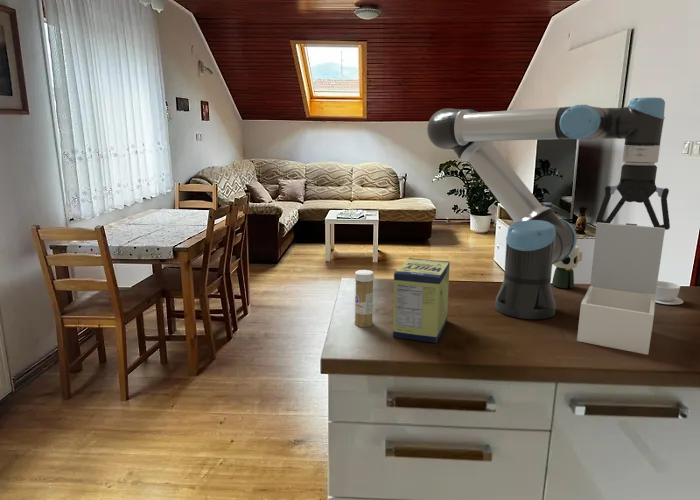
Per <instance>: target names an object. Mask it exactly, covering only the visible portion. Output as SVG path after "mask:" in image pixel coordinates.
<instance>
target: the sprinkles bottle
mask: <svg viewBox="0 0 700 500" xmlns="http://www.w3.org/2000/svg"><path fill="white" fill-rule="evenodd" d="M374 279H375V273H374V271H372V270H369V269H360V270H356V271H355V273H354V280H355V298H354V312H355V313H354V326H356V327H359V328H368V327H371V326H373V324H374V323H373V313H374Z"/></svg>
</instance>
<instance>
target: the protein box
mask: <svg viewBox="0 0 700 500" xmlns="http://www.w3.org/2000/svg"><path fill="white" fill-rule="evenodd" d="M450 264H451V262H450V261H447V260H446V261H444V260H436V259H435V260H432V259H425V258H424V259H421V258H412V257H411V258H410V257H408V259H407V260H406V261H405V262H403V264H402V265H401V266H400V267H399V268H398V269H397V270H395V271H394V272H393V309H392V311H393V312H392V337H393V338H398V339H405V340H412V341H421V342H428V343H432V344H433V343H435V344H437V343H438V341H439V338H440V336H441V334H442V332H443V331H444V328H445V327H446V323H447V321H448V310H449V309H448V305H449V303H448V302H449V284H450V283H449V281H450Z"/></svg>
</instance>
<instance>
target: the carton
mask: <svg viewBox="0 0 700 500" xmlns="http://www.w3.org/2000/svg"><path fill="white" fill-rule="evenodd" d="M655 305H656V302H655V295H651V294H646V293H639V292H632V291H625V290H618V289H611V288H604V287H597V286H589V287H588V289H587V291H586V293H585V295H584V296H583V299H582V300H581V302H580V309H579V318H578V319H579V320H578V327H577V328H578V329H577V335H576V336H577V337H576V341H577V342H580V343H581V342H582V343H585V344H589V345H590V344H591V345H596V346H601V347H606V348H611V349H617V350H622V351H627V352H632V353H636V354H641V355H649V352H650V344H651V340H652V339H651V338H652V332H653V324H654V317H655V308H656V306H655Z"/></svg>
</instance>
